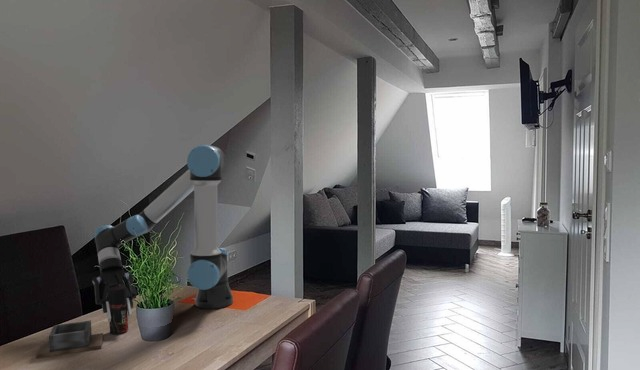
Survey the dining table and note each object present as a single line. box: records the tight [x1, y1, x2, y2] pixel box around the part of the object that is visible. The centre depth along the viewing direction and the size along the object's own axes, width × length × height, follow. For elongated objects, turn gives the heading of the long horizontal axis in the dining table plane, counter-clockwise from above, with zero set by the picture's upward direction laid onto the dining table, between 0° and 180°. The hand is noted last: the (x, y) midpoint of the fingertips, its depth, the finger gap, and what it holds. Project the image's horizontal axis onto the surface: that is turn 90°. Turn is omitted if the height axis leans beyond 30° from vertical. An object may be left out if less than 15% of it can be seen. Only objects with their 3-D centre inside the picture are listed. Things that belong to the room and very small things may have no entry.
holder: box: [35, 320, 104, 359], centre depth 156 cm, size 18×12×6 cm, turn 111°
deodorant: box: [107, 285, 129, 335], centre depth 168 cm, size 6×6×15 cm
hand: (120, 318), depth 165 cm, fingers closed on deodorant, 6 cm apart
